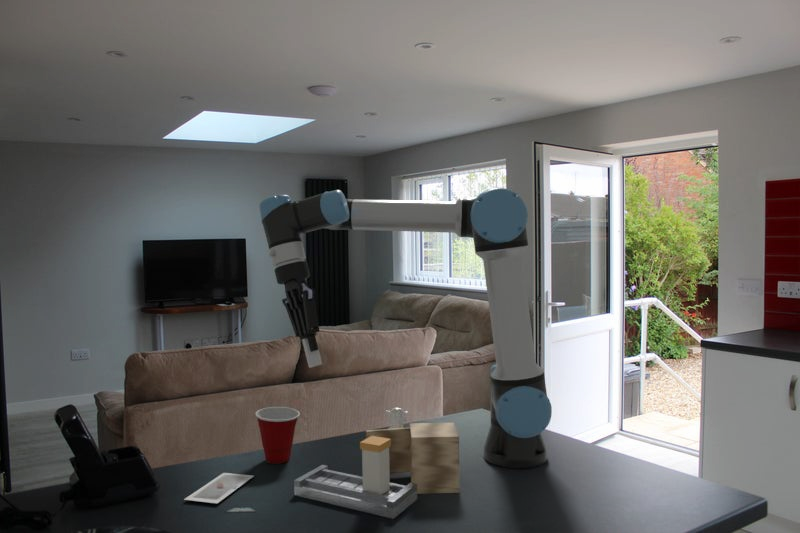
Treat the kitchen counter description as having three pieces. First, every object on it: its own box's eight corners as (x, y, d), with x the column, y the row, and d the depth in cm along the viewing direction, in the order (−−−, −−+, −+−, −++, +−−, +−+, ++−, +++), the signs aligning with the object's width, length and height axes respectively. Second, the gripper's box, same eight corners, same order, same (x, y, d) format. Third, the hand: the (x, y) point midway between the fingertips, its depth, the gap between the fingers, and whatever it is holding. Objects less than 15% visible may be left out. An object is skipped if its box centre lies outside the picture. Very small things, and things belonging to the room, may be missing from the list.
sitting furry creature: (381, 464, 144) (380, 414, 143) (374, 452, 152) (373, 405, 152) (419, 460, 146) (418, 411, 145) (410, 448, 154) (409, 402, 154)
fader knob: (360, 492, 121) (359, 442, 121) (372, 484, 125) (371, 435, 125) (380, 497, 119) (379, 445, 119) (391, 488, 123) (390, 438, 123)
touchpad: (183, 504, 123) (183, 494, 123) (223, 477, 138) (223, 468, 138) (217, 508, 121) (217, 498, 121) (254, 480, 136) (254, 471, 136)
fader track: (294, 495, 126) (294, 480, 126) (322, 478, 135) (322, 464, 135) (393, 518, 115) (393, 502, 114) (417, 499, 123) (417, 483, 123)
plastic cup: (291, 469, 141) (290, 418, 140) (248, 466, 143) (247, 416, 143) (307, 453, 152) (306, 406, 151) (267, 451, 154) (266, 404, 153)
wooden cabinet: (454, 474, 137) (453, 422, 136) (459, 492, 126) (459, 436, 126) (367, 475, 136) (366, 423, 136) (365, 494, 126) (364, 438, 125)
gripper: (264, 272, 138) (288, 372, 137) (286, 260, 127) (313, 368, 126) (293, 266, 142) (317, 363, 141) (317, 255, 132) (343, 359, 130)
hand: (315, 365), depth 133 cm, fingers closed
